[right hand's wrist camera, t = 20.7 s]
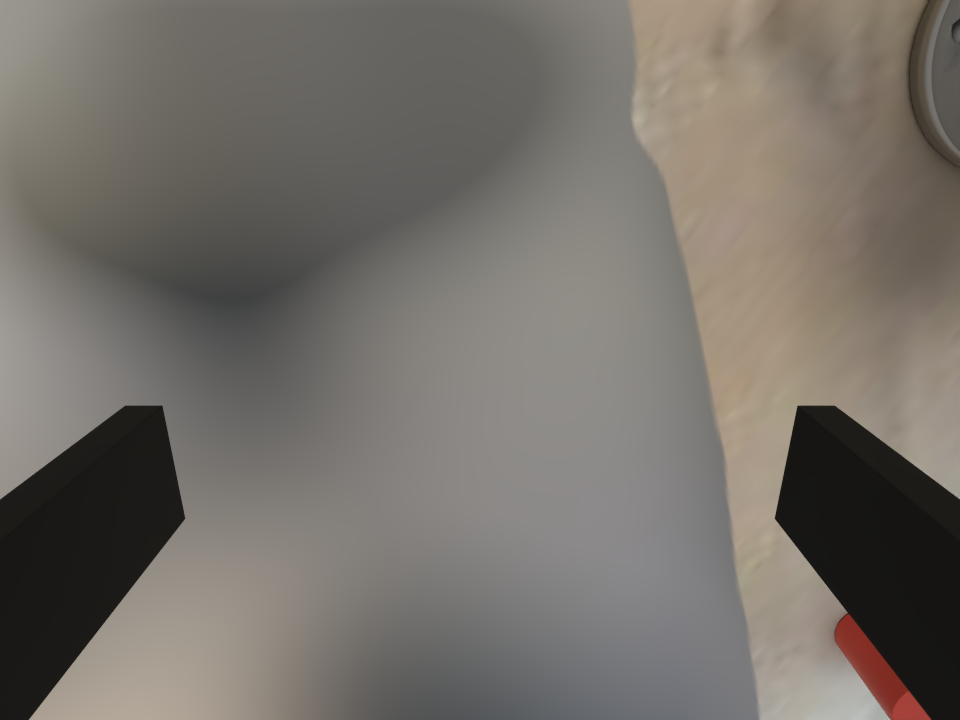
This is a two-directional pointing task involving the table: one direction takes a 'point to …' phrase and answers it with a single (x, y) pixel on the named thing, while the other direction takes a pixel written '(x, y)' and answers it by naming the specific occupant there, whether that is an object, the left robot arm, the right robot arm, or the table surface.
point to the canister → (877, 673)
